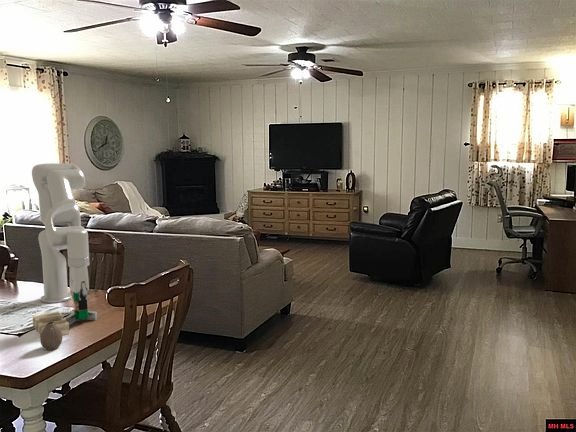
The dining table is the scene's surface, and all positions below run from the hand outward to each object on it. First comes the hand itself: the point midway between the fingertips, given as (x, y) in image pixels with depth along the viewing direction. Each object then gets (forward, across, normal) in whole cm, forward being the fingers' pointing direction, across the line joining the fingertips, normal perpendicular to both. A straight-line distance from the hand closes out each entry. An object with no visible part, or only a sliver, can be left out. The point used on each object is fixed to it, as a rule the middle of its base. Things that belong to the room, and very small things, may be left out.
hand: (80, 307), depth 196 cm
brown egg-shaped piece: (+6, +20, -15) cm, 26 cm away
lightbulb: (+6, -15, +3) cm, 16 cm away
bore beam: (+6, +2, -12) cm, 13 cm away
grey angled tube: (+6, -3, 0) cm, 7 cm away
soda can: (+5, 0, 0) cm, 5 cm away
